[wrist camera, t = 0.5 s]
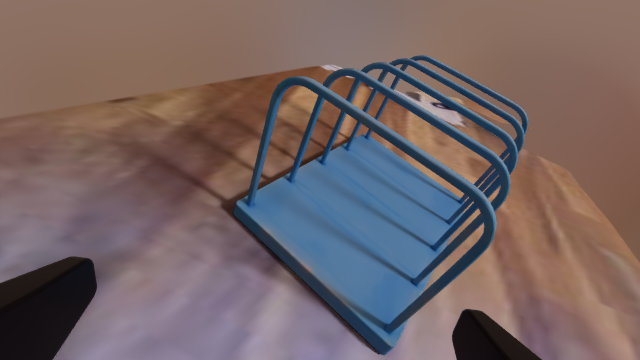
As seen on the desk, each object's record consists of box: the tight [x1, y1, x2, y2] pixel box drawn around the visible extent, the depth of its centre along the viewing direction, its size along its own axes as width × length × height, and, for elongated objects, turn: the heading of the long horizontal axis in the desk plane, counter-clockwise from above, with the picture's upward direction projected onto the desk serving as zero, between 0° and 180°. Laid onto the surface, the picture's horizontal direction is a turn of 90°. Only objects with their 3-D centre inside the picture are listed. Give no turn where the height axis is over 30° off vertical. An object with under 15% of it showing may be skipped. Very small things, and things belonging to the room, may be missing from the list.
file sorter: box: [233, 55, 528, 355], centre depth 30 cm, size 25×17×15 cm
